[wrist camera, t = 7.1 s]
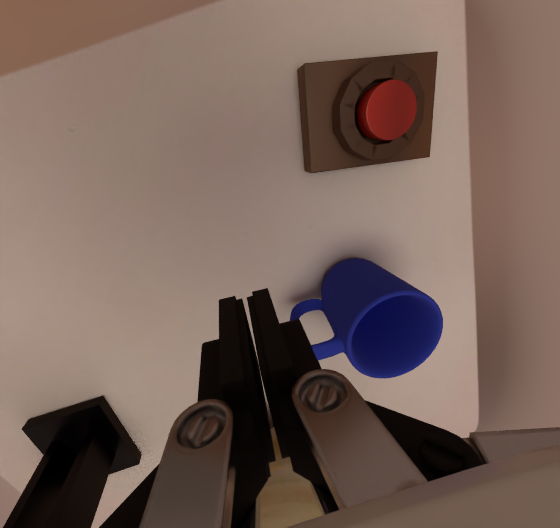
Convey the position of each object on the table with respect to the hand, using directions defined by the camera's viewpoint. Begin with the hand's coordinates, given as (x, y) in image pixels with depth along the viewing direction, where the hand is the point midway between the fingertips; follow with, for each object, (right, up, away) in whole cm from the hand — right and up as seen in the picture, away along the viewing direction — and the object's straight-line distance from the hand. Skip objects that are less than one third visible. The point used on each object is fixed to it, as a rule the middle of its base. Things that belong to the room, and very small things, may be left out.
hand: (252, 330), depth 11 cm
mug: (+7, 0, +23) cm, 24 cm away
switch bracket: (-21, -17, +24) cm, 36 cm away
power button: (+9, +14, +13) cm, 21 cm away
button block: (+8, +15, +17) cm, 24 cm away
